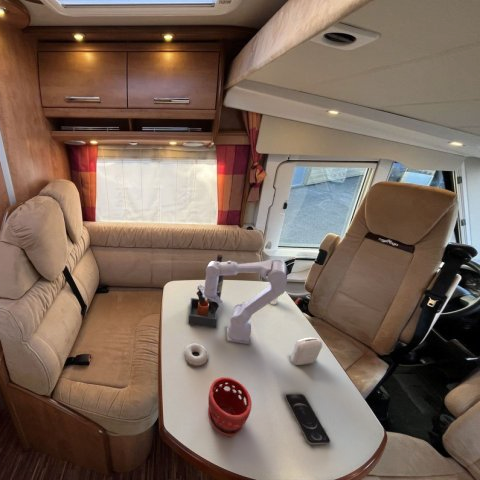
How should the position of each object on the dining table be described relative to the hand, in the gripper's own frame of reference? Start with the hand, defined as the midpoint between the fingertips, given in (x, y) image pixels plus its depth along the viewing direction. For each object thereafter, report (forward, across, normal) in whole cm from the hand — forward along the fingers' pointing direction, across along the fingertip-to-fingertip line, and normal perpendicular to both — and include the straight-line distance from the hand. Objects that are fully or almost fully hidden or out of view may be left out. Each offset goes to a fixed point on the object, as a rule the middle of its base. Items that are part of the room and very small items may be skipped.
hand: (207, 308), depth 113 cm
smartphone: (+10, +50, -1) cm, 51 cm away
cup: (+10, +8, +45) cm, 47 cm away
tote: (+10, -5, +3) cm, 12 cm away
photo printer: (+10, +38, +21) cm, 44 cm away
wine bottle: (+11, -10, +16) cm, 22 cm away
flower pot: (+10, +34, -24) cm, 43 cm away
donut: (+11, +11, -16) cm, 23 cm away
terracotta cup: (+10, -5, +3) cm, 12 cm away
